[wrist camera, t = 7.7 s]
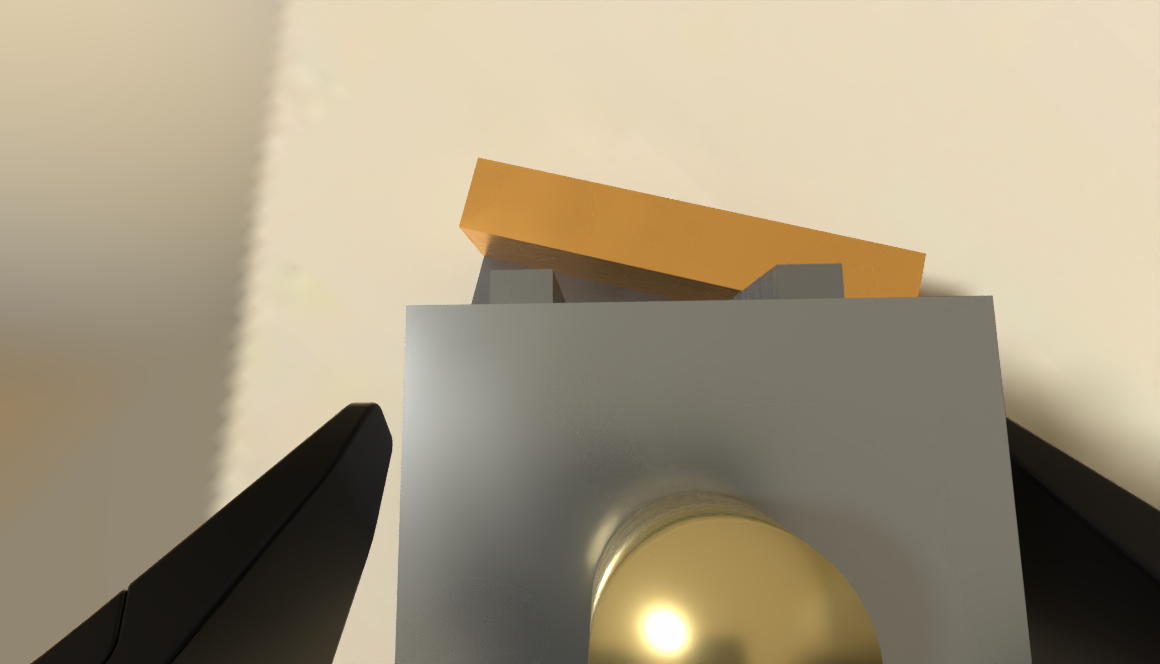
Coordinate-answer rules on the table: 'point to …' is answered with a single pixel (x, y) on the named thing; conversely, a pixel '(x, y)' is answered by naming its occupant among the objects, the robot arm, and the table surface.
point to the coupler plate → (653, 242)
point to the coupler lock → (707, 479)
